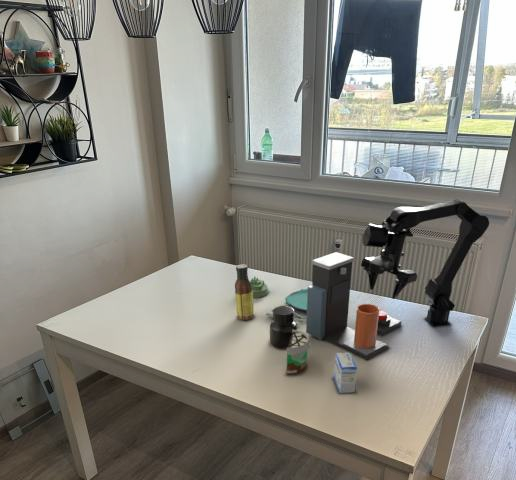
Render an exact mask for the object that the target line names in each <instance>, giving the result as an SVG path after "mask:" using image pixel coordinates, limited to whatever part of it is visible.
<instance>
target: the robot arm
mask: <svg viewBox="0 0 516 480" xmlns="http://www.w3.org/2000/svg"><path fill="white" fill-rule="evenodd" d="M452 216H456V217H457V218H459V219H460V220H461V221H460V224H459V231H458V238H457V240H456V242H455V243H454V246H453V247H452V250H451V251H450V253H449V255H448V257H447V259H446V261H445V262H444V265H443V267H442V269H441V270H440V272H439V275H438V276H437V277H435V278H434V279H433V278H429V280H428V283H427V284H426V286H425V287H424V289H425V291H424V295H425V298H427V300H428V302H429V303H430V304H429V309H427V314H426V317H424V320H426V321H427V322H428V323H429V324H430V325H431V326H432V327H443V326H451V322H450V321H449V318H450V313H451V312H452V311H453V310H454V309H455V306H456V304H454V303H453V302H452V300H451V299H450V297H451V295H452V291H453V282H454V281H455V279H456V276H457V274H458V272H459V270H460V269H461V266H462V265H463V263H464V261H465V259H466V257H467V255H468V254H469V251H470V250H471V248H472V246H473V245H474V243H475V242H476V241H477V240H479V239H480V238H481V237H483V235H484V234H485V232H486V231H487V230H488V228H489V225H490V220H489V217H488V216H486V215H485V214H482V213H480V212H478V211H475V210H474V209H473V208H471V207H470V206H469V205H468V204H467V202H465V201H463V200H460V199H458V198H457V199H453V200H449V201H446V202H442V203H435V204H431V205H430V204H429V205H425V206H420V207H414V206H397V207H395V208H394V209H393V210H392V211H391V213H390V215H388V216H387V217H386V219H384V220H383V221H382V222H381V223H380V225H377V224H373V223H369V224H368V225H367V227H366V228H365V230H364V232H363V233H362V245H363V246H364V247H371V248H383V247H384V249H381V251H380V253H379V255H378V256H370V257H364V258H363V259H362V260H361V263H360V267H362V268H363V270H364V271H365V272H366V273H367V275H368V283H369V290H370V291H373V290H374V289H375V286H376V283H377V280H378V277H379V275H382V274H384V273H385V272H386V273H389V274H392V275H395V276H396V279H395V280H394V283H395V286H394V289H393V293H392V299H393V300H395V299H396V298H397V297H398V296H399V294H400V293H401V292H402V291H403V289H404V288H406V286H407V285H409V284H411V283H414V282H417V279H418V273H417V272H416V271H413V270H410V269H401V267H402V264H400V263H401V259H402V257H404V256H405V252H404V251H403V250H404V247H405V243H406V239H407V237H410V238H411V237H412V238H413V237H414V234H413V232H412V231H411V229H412V228H414V227H417V226H419V224H422V223H424V222H428V221H433V220H438V219H442V218H443V219H444V218H449V217H452ZM400 269H401V270H400Z"/></svg>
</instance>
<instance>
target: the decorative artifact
mask: <svg viewBox="0 0 516 480" xmlns="http://www.w3.org/2000/svg"><path fill="white" fill-rule="evenodd" d="M250 279H251V280H249V282H250V284H251V286H252V294H253V299H258V298H262V297H265V296H267V294H268V293H269V292H268V284H266V283H265V280H263V279H259V278H258V277H256V276H254V277H252V278H250Z"/></svg>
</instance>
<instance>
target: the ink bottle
mask: <svg viewBox="0 0 516 480" xmlns="http://www.w3.org/2000/svg"><path fill="white" fill-rule="evenodd" d="M272 310H273V312H272V314H273V318H272V322H270V324H269V344H270V345H271V346H272V347H273V348H276V349H280V350H287V348H288V346H289V343H290V339H291V336H292V330H298V324H297V325H296V322H295V319H294V317H295V315H294V313H295V308H293V307H291V306H289V305H288V306H287V305H280V306H276V307H274V308H273V309H272Z"/></svg>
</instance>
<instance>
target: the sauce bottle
mask: <svg viewBox="0 0 516 480" xmlns="http://www.w3.org/2000/svg"><path fill="white" fill-rule="evenodd" d="M248 269H249V268H248V265H247V264H244V263H243V264H242V263H241V264H238V265H236V266H235V271H236V280H235V282H234V295H235V296H234V297H235V308H236V315H237V318H238V320H242V321H249V320H252V319H253V318H254V316H255V315H254V313H255V310H254V309H255V308H254V298H253V294H252V286H251V284H250V282H249V281H250V280H249V274H248Z"/></svg>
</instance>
